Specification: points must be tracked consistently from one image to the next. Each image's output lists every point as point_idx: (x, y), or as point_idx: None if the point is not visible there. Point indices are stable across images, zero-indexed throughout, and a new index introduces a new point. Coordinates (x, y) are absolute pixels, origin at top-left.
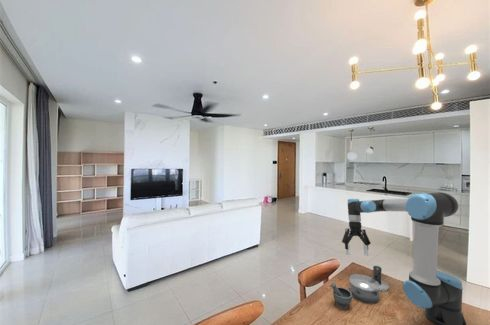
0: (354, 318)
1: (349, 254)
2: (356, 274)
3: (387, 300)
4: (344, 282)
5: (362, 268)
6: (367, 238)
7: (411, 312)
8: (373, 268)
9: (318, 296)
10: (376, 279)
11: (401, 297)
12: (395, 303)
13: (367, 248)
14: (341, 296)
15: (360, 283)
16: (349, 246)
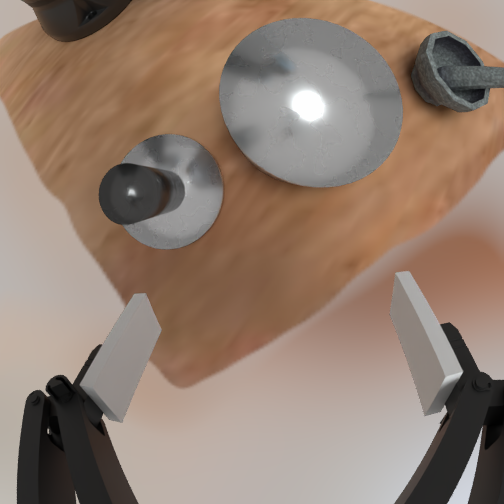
0: (412, 20)
1: (406, 274)
2: (321, 180)
3: (206, 69)
4: (346, 231)
5: (156, 352)
6: (30, 462)
7: (163, 11)
8: (156, 201)
9: (489, 152)
10: (170, 175)
11: (121, 93)
12: (184, 51)
13: (100, 351)
14: (459, 66)
15: (354, 80)
16: (435, 349)
